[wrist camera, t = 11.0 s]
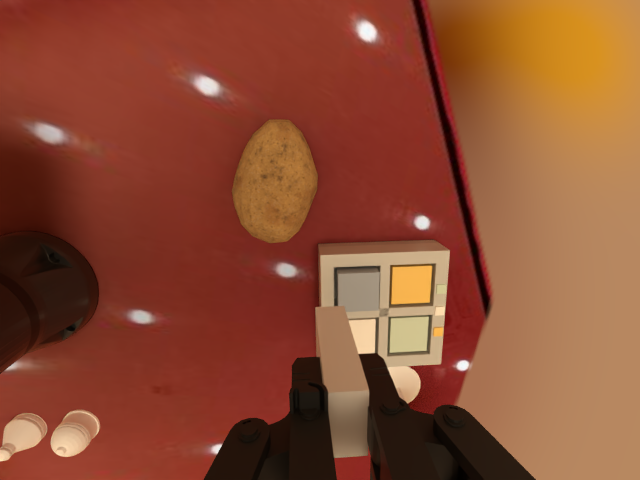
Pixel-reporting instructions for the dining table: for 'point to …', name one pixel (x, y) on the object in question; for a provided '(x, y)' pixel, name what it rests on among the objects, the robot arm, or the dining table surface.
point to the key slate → (358, 288)
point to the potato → (275, 182)
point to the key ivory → (363, 334)
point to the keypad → (382, 259)
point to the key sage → (407, 333)
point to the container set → (64, 440)
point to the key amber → (410, 283)
